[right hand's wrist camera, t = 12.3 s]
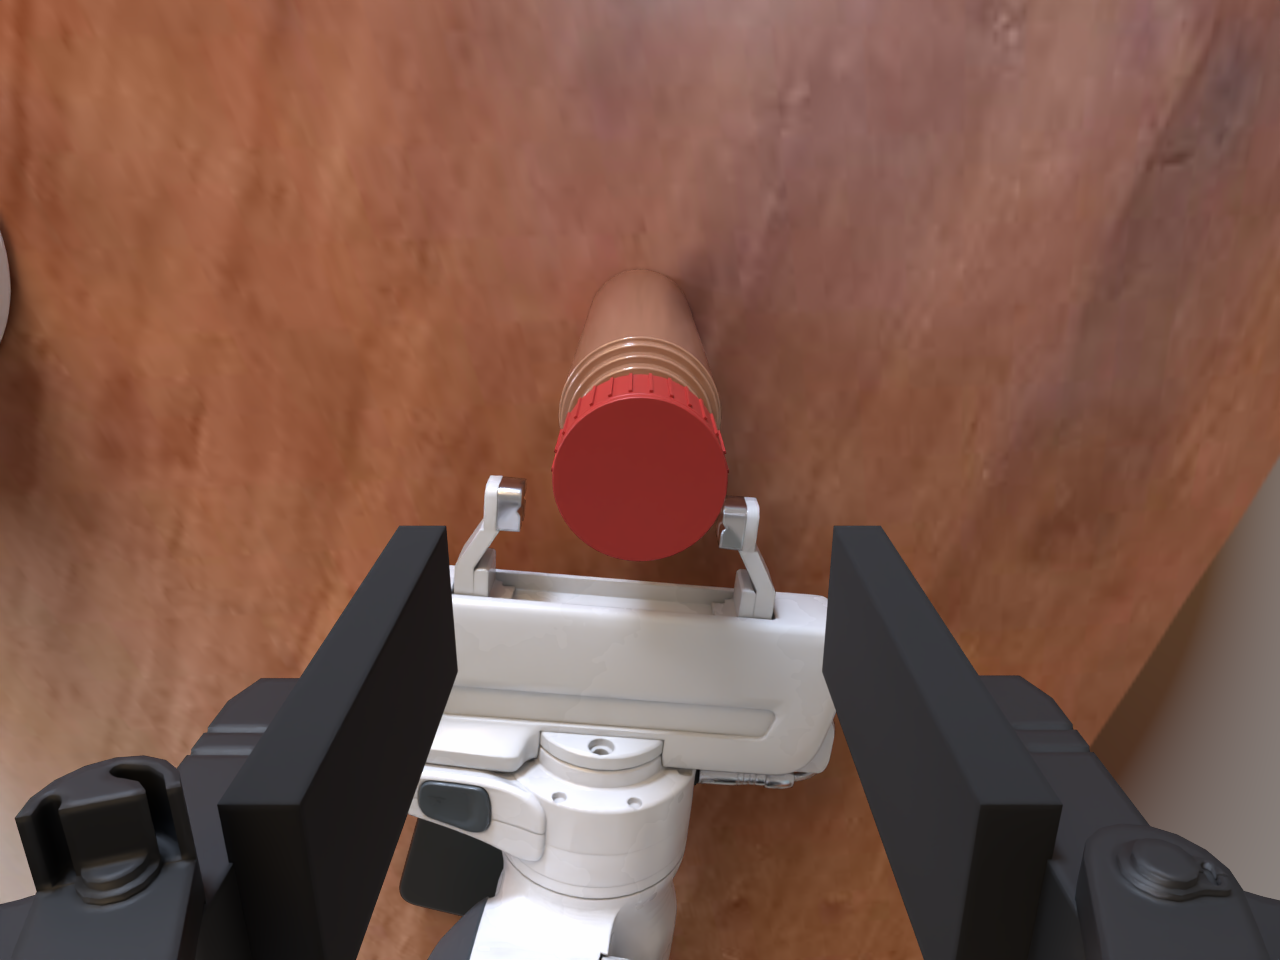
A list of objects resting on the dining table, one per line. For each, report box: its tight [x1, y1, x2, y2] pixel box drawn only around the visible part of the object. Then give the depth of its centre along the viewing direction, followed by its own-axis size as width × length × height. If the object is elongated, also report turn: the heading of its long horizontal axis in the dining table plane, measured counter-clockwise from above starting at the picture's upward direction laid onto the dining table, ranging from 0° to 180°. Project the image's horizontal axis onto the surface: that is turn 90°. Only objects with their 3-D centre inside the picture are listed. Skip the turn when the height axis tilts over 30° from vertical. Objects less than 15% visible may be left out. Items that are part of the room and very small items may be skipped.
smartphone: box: [399, 818, 504, 916], centre depth 48 cm, size 8×1×16 cm
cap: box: [551, 373, 729, 561], centre depth 21 cm, size 4×4×2 cm
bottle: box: [559, 269, 721, 430], centre depth 30 cm, size 5×5×20 cm
